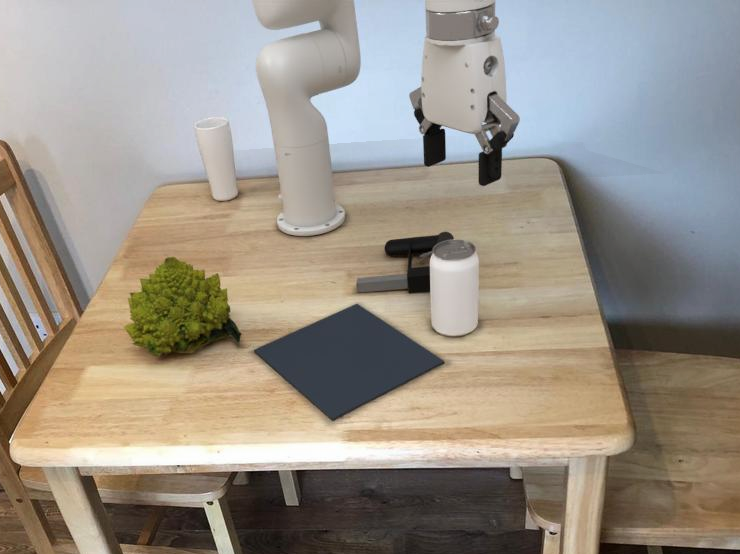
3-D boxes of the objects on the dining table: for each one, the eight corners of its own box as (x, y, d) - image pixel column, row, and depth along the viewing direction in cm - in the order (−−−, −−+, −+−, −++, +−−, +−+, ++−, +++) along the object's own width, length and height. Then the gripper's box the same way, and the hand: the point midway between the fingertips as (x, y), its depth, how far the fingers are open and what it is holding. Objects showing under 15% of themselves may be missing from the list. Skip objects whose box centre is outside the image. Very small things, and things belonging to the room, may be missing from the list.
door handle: (352, 298, 112) (463, 289, 108) (362, 236, 127) (460, 226, 124) (355, 318, 113) (464, 309, 110) (365, 254, 129) (461, 245, 126)
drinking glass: (240, 201, 151) (226, 126, 142) (207, 205, 151) (191, 130, 142) (243, 188, 156) (230, 115, 147) (211, 191, 157) (196, 118, 148)
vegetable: (268, 316, 107) (190, 248, 100) (196, 400, 108) (112, 338, 100) (236, 290, 120) (165, 228, 112) (172, 365, 120) (96, 308, 112)
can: (427, 316, 110) (424, 241, 103) (471, 310, 110) (472, 234, 103) (436, 341, 105) (434, 263, 98) (483, 334, 105) (484, 256, 98)
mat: (254, 352, 108) (253, 349, 108) (357, 305, 115) (356, 303, 114) (332, 421, 94) (332, 418, 93) (444, 363, 101) (444, 360, 100)
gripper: (544, 23, 79) (536, 180, 89) (433, 9, 91) (437, 148, 102) (492, 40, 76) (490, 200, 86) (384, 23, 88) (393, 165, 99)
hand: (461, 172), depth 94 cm, fingers open, 9 cm apart
